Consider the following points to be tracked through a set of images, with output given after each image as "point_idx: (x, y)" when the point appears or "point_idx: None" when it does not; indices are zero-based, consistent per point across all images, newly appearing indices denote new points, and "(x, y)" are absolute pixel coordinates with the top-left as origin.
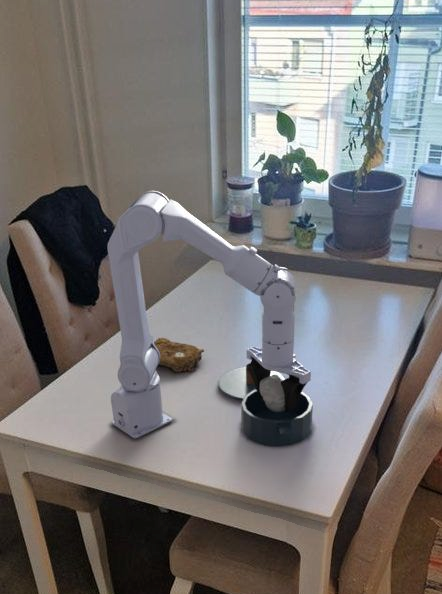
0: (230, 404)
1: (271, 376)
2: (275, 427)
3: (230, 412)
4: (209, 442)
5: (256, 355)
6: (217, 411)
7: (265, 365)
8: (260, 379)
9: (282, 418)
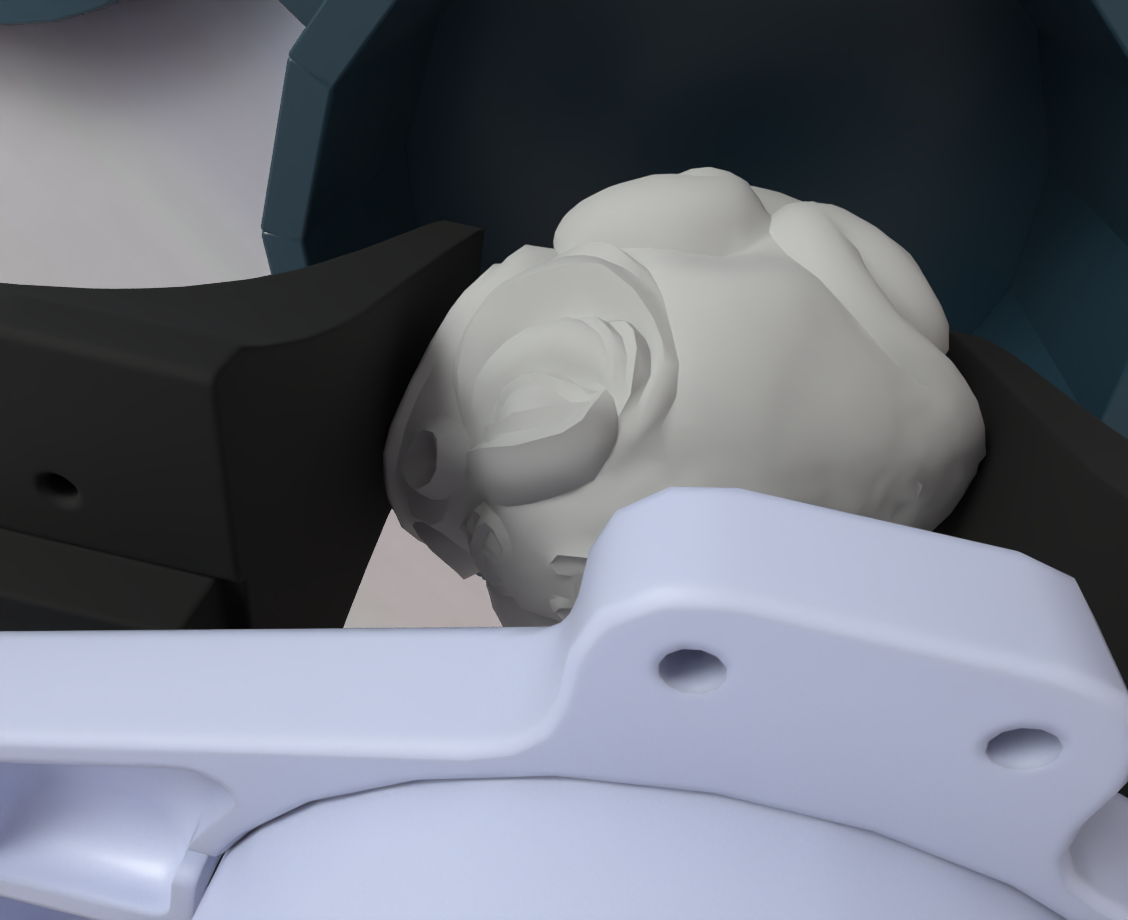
0: (105, 95)
1: (539, 570)
2: None
3: (221, 215)
4: (420, 577)
5: (34, 907)
6: (141, 261)
7: None
8: (372, 503)
9: (694, 63)
